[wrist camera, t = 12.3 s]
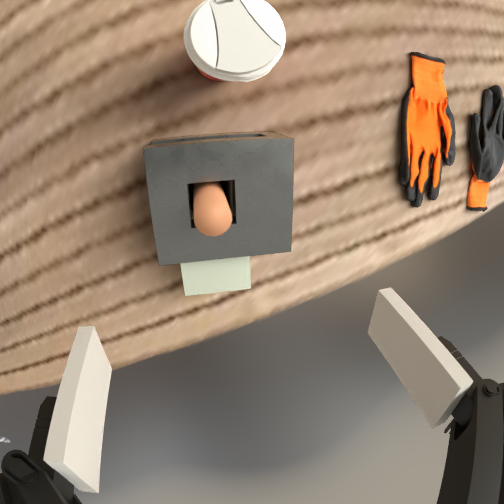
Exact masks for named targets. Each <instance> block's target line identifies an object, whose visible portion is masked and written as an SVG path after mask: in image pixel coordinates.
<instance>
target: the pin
mask: <svg viewBox="0 0 504 504" xmlns="http://www.w3.org/2000/svg"><path fill="white" fill-rule="evenodd" d="M193 202H194V223H195V226H196V228H197V229H198V230H199V231H200V232H201V233H202V234H204V235H206V236H219V235H221V234H223V233H224V232H226V231H227V230H228V229H229V227H230V225H231V222H232V214H231V211H230V208H229V205H228V202H227V200H226V197H225V194H224V191H223V189H222V186H221V183H220V181H211V182H200V183H193Z"/></svg>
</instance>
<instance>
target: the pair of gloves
mask: <svg viewBox="0 0 504 504" xmlns="http://www.w3.org/2000/svg"><path fill="white" fill-rule="evenodd" d="M410 55H411V57H412V78H413V85H414V86H412V87H411V88H410V89H409V91H408V92H407V94H406V96H405V98H404V101H403V107H402V108H403V109H402V156H401V157H402V158H401V164H400V165H401V166H400V171H399V181H400V183H401V184H402V185H405V186H406V185H407V188H406V193H405V196H406V198H407V199H408V200H411V204H412V206H414V207H417V208H418V207H419V206H420V205H421V203H422V200H423V193H424V191H425V188H426V185H427V182H428V180H429V177H430V174H433V178H432V184H431V187H430V190H429V193H428V198H429V199H430V200H435V199H436V198H437V197H438V194H439V187H440V180H441V172H442V153H444V161H445V163H446V164H447V165H449V166H451V165H452V164H453V162H454V160H455V123H454V117H453V114H452V112H451V111H450V108H449V105H448V99H447V93H446V90H445V86H444V83H443V78H442V74H443V71H444V65H445V61H444V60H443V59H440V58H435V57H431V56H427V55H425V54H421V53H419V52H411V53H410ZM479 125H480V116H479V115H478V114H477V113H474V114H473V117H472V133H471V138H470V154H471V161H472V168H473V171H474V175H473V177H472V179H471V182H470V186H469V191H468V198H467V201H468V205H467V208H468V209H469V210H482V211H483V212H484V211H485V210H487V207H486V197H487V193H488V188H489V184H490V181H491V180H493V178H494V177H495V176H496V175H497V174H498V172H499V171H500V168H501V166H502V163H503V160H504V98H503V96H502V89H501V88H500V86H498V85H493V86H492V87H491V88H490V89H486V90H485V91H484V100H483V113H482V125H483V144H482V147H480V141H479V138H478V132H479Z"/></svg>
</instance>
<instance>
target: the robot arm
mask: <svg viewBox="0 0 504 504" xmlns="http://www.w3.org/2000/svg"><path fill="white" fill-rule="evenodd" d="M368 334H369V335H370V337H371V338H372V340H373V341H374V342H375V344H376V345H377V347H378V348H379V350H380V351H381V352H382V354H383V355H384V357H385V358H386V360H387V361H388V363H389V364H390V366H391V367H392V368H393V370H394V371H395V373H396V374H397V376H398V377H399V379H400V380H401V382H402V383H403V385H404V386H405V388H406V389H407V391H408V392H409V394H410V395H411V397H412V398H413V400H414V401H415V403H416V404H417V406H418V407H419V409H420V410H421V412H422V414H423V415H424V417H425V418H426V420H427V421H428V423H429V424H430V426H431V428H434V427H436V426H438V425H440V424H442V423H444V422H445V421H446V420H447V419H448V417H449V416H450V415H451V414H452V416H453V417H454V419H453V420H452V421H451V423H450V424H449V425H448V426H447V428H446V429H445V431H444V433H447V431H448V430H449V429H450V428H451V431H450V433H449V434H450V439H449V446H448V452H447V458H446V464H445V469H444V474H443V479H442V484H441V489H440V493H439V497H438V501H437V504H504V383H501V384H498V383H497V382H495V381H493V380H491V379H482V378H481V377H480V376H479V375H478V373H477V372H476V371H475V370H474V369H473V368H472V367H471V365H470V364H469V363H468V362H467V361H466V359H465V358H464V357H462V355H461V353H460V352H459V351H457V349H456V348H455V347H454V346H453V344H452V343H451V342H450V341H448V340H446V339H445V338H443V337H441V336H440V337H438V338H437V337H436V336H435V335H434V334H433V333H432V332H431V330H430V329H429V328H428V327H427V326H426V325H425V324H424V323H423V322H422V320H421V319H419V317H418V316H417V315H416V314H415V313H414V312H413V311H412V309H411V308H410V307H409V306H408V305H407V304H406V303H405V302H404V301H403V300H402V299H401V298H400V297H399V296H398V295H397V293H396V292H395V291H394V290H393V289H392V288H386V289H381V290H378V294H377V298H376V303H375V307H374V311H373V315H372V318H371V323H370V326H369V330H368ZM111 372H112V368H111V365H110V363H109V361H108V359H107V356H106V354H105V352H104V349H103V347H102V345H101V342H100V340H99V337H98V335H97V332H96V330H95V327H94V326H86V327H79V328H78V331H77V334H76V337H75V340H74V342H73V345H72V349H71V352H70V355H69V358H68V361H67V364H66V367H65V371H64V374H63V378H62V381H61V385H60V389H59V392H58V396H57V397H46V399H45V400H44V402H43V403H42V404H41V406H40V409H39V413H38V416H37V417H38V419H37V420H36V424H35V428H34V432H33V436H32V440H31V445H30V449H29V455H27V454H26V453H25V452H23V451H21V450H12V451H10V452H8V453H7V454H6V455H5V456H4V458H3V460H2V465H1V469H2V473H1V474H0V504H82V503H81V502H80V500H79V499H78V498H77V496H76V495H75V494H74V493H73V492H74V486H75V487H76V488H77V489H79V490H80V491H85V492H94V493H98V492H99V476H100V460H101V449H102V438H103V429H104V420H105V412H106V405H107V397H108V390H109V384H110V378H111Z"/></svg>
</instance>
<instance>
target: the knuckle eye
mask: <svg viewBox="0 0 504 504" xmlns="http://www.w3.org/2000/svg"><path fill="white" fill-rule="evenodd" d="M188 194H189V187H188ZM229 196H230V207H229V208H230V211H231V214H232V215H233V199H232V180H229ZM189 205H190V199H189ZM190 215H191V219H194V211H191V210H190ZM180 265H181V272H182V278H183V285H184V291H185V296H189V295H198V294H208V293H217V292H225V291H234V290H242V289H251V281H250V256H246V257H236V258H227V259H217V260H208V261H198V262H189V263H180Z"/></svg>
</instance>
